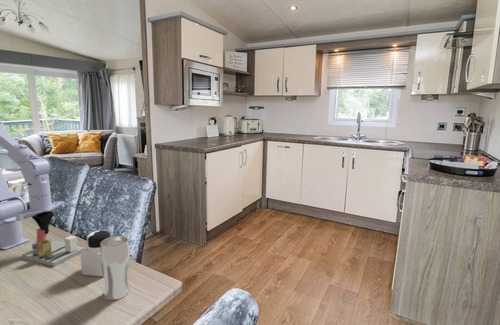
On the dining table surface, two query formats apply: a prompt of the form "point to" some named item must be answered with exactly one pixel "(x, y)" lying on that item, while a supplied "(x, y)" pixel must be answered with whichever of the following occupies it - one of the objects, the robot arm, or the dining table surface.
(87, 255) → the medicine bottle
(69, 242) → the white slider
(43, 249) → the brass slider
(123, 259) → the beer glass
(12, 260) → the dining table surface
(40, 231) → the red paddle
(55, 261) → the panel
